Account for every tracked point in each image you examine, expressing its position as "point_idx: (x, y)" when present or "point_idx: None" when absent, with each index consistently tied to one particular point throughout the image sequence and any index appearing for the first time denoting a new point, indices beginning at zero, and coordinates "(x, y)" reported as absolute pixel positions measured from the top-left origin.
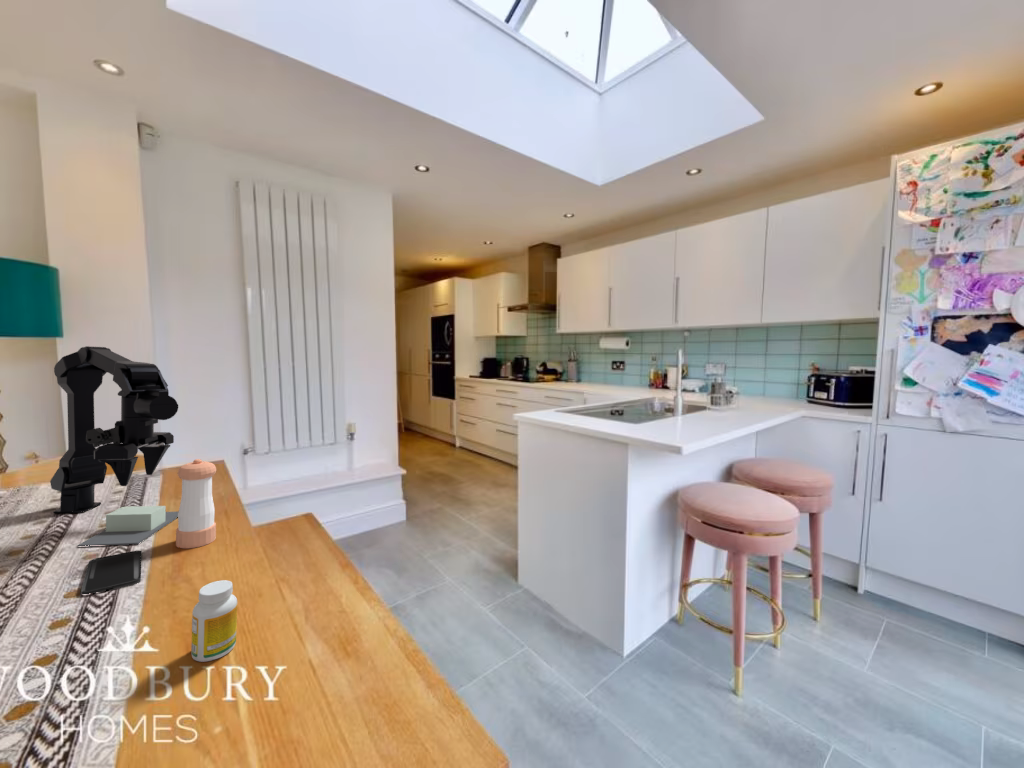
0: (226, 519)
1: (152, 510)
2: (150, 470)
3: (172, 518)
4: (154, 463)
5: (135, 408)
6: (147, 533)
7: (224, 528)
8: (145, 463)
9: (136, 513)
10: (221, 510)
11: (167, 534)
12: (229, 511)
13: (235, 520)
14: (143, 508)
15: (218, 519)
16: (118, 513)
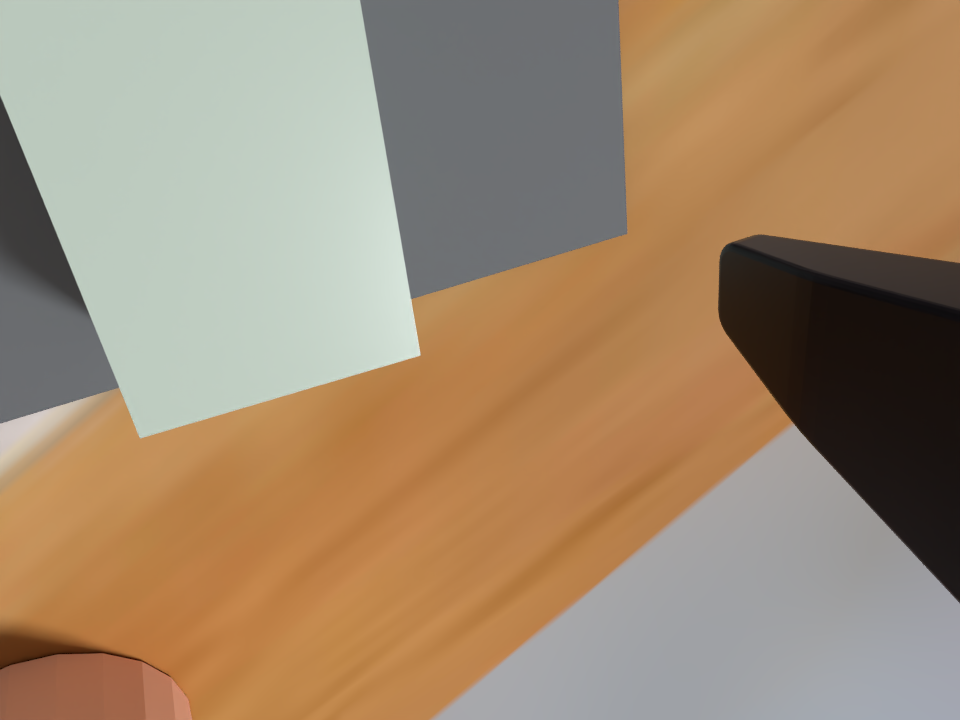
0: (482, 601)
1: (251, 357)
2: (782, 356)
3: (447, 272)
4: (918, 507)
5: None
6: (53, 371)
7: (319, 708)
8: (951, 335)
9: (112, 273)
10: (663, 442)
11: (128, 481)
12: (638, 505)
13: (466, 659)
14: (299, 199)
15: (480, 559)
16: (46, 33)
